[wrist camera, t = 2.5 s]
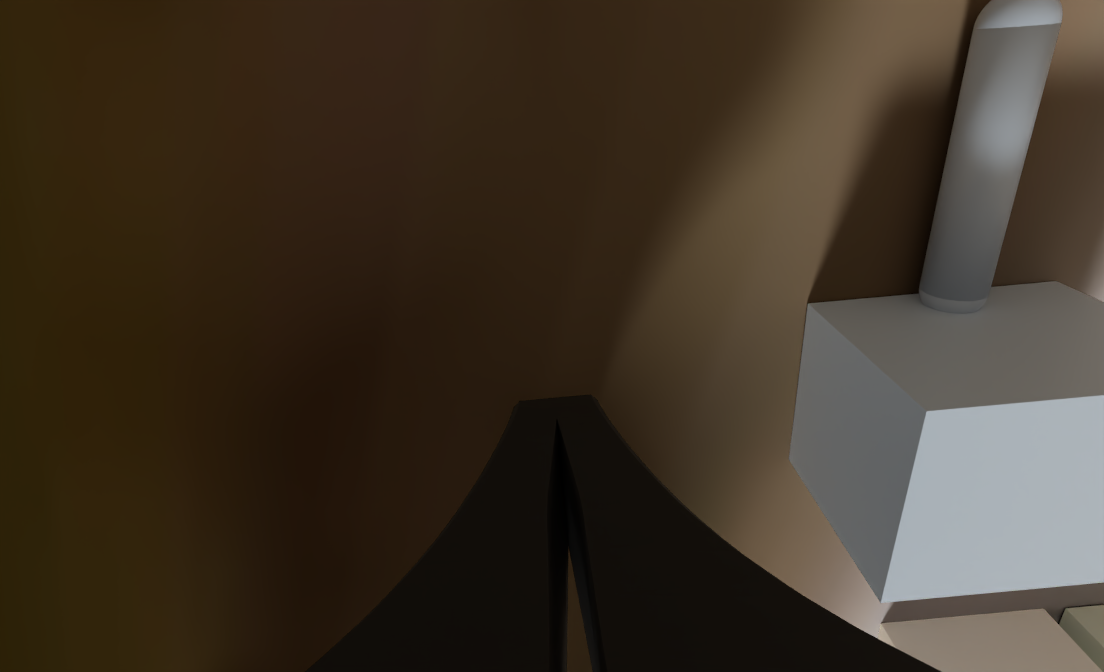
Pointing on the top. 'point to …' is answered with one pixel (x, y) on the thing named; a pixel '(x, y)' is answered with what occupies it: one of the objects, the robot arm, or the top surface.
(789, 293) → the top surface
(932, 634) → the charger
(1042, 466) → the cable plug
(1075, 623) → the outlet plate
